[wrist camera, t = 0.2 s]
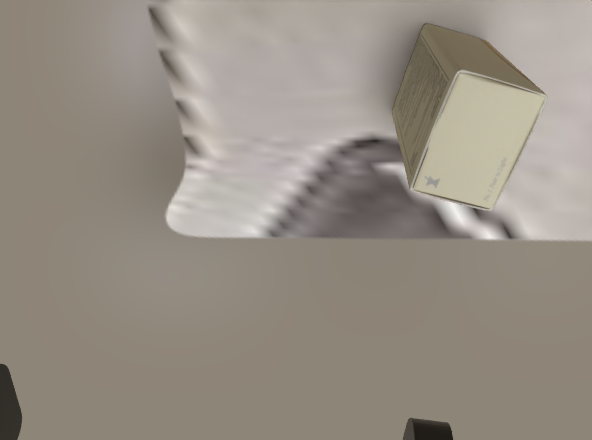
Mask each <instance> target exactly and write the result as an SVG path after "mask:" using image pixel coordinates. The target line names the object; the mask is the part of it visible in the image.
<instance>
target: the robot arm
mask: <svg viewBox="0 0 592 440" xmlns="http://www.w3.org/2000/svg"><path fill="white" fill-rule="evenodd" d="M21 423H22V414H21V409H20V406H19V403H18V399H17V396H16V392H15V389H14V386H13V382H12V379H11V375H10V372H9V369H8V368H7V366H6V365H4V364H0V440H17V438H18V436H19V433H20V429H21ZM403 440H453V436H452V431H451V428H450V425H449V424H448V423H446V422H438V421H430V420H422V419H414V418H409V419H408V422H407V425H406V429H405V433H404V437H403Z"/></svg>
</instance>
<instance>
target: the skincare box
mask: <svg viewBox="0 0 592 440" xmlns="http://www.w3.org/2000/svg"><path fill="white" fill-rule="evenodd" d="M547 98H548V96H547V95H546V94H545V93H544V92H543V91H542V90H541V89H539V88H538V87H537V86H536V85H535V84H534V83H533V82H532V81H530V80H529V79H528V78H527V77H526V76H525V75H524V74H523V73H522V72H521V71H519V70H518V69H517V68H516V67H515V66H514V65H513V64H512V63H510V62H509V61H508V60H507V59H506V58H505V57H504V56H503V55H502V54H500V53H499V52H498V51H497V50H496V49H495V48H494V47H493V46H492V45H491V44H490V43H489V42H487V41H485V40H482V39H479V38H476V37H473V36H469V35H466V34H463V33H460V32H456V31H453V30H449V29H446V28H443V27H439V26H435V25H432V24H425V25H424V26H423V28H422V30H421V33H420V35H419V38H418V41H417V43H416V46H415V48H414V51H413V54H412V57H411V59H410V62H409V64H408V67H407V70H406V73H405V76H404V78H403V81H402V84H401V87H400V90H399V92H398V95H397V98H396V102H395V105H394V107H393V111H392V114H393V119H394V123H395V127H396V132H397V136H398V140H399V145H400V149H401V153H402V158H403V162H404V166H405V171H406V175H407V180H408V184H409V189H410V191H413V192H417V193H420V194H423V195H427V196H431V197H434V198H438V199H441V200H445V201H449V202H453V203H457V204H460V205H464V206H468V207H473V208H477V209H482V210H486V211H491V210H493V208H494V207H495V205H496V203H497V201H498V200H499V197H500V196H501V194H502V192H503V190H504V188H505V186H506V184H507V182H508V181H509V179H510V176H511V174H512V173H513V171H514V169H515V167H516V165H517V163H518V161H519V158H520V156H521V154H522V152H523V150H524V148H525V146H526V144H527V142H528V140H529V138H530V135H531V134H532V132H533V129H534V127H535V125H536V123H537V121H538V119H539V116H540V114H541V112H542V110H543V108H544V105H545V103H546V101H547Z"/></svg>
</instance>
